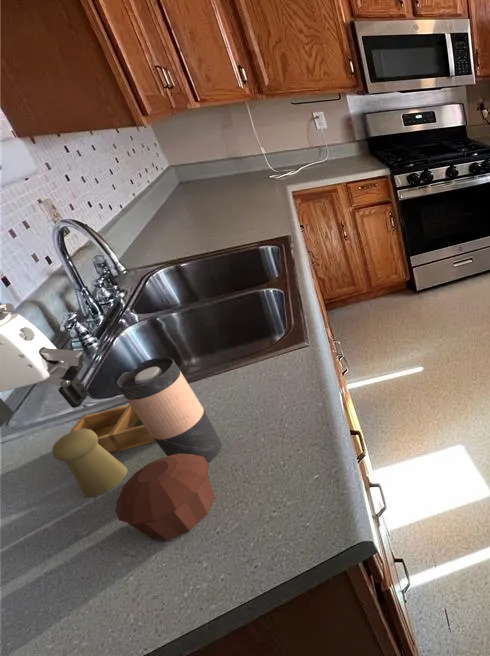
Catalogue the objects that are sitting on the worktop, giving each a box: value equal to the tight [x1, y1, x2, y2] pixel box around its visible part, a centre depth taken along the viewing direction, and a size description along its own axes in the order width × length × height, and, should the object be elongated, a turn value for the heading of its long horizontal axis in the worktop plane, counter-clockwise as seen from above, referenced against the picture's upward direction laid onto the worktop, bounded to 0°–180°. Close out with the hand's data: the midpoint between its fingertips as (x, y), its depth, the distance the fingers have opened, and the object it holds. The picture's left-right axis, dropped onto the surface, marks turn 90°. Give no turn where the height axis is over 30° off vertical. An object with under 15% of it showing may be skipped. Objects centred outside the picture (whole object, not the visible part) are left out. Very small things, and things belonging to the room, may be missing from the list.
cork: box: [52, 429, 128, 498], centre depth 70 cm, size 6×6×11 cm
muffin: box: [114, 454, 216, 542], centre depth 64 cm, size 12×11×10 cm
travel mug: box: [116, 356, 222, 464], centre depth 71 cm, size 8×8×20 cm
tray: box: [69, 403, 156, 455], centre depth 81 cm, size 16×9×4 cm, turn 109°
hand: (43, 411), depth 64 cm, fingers open, 9 cm apart
